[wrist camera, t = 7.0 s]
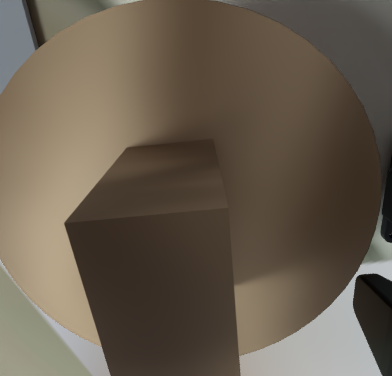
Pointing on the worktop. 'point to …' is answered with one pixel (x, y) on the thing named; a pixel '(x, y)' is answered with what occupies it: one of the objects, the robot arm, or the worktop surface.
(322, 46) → the worktop surface
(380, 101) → the worktop surface
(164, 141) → the lid
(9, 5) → the mat
